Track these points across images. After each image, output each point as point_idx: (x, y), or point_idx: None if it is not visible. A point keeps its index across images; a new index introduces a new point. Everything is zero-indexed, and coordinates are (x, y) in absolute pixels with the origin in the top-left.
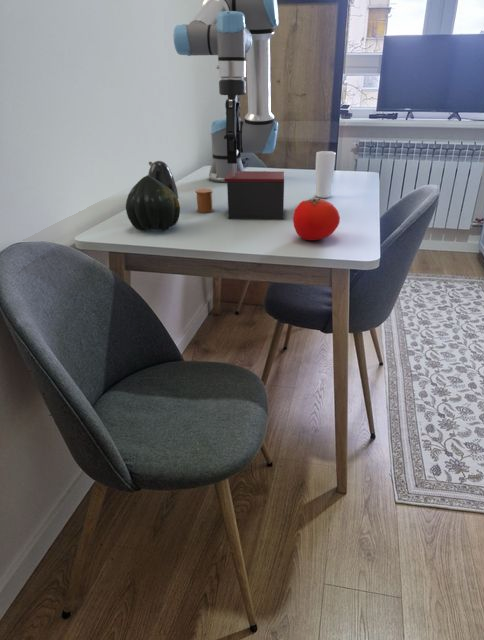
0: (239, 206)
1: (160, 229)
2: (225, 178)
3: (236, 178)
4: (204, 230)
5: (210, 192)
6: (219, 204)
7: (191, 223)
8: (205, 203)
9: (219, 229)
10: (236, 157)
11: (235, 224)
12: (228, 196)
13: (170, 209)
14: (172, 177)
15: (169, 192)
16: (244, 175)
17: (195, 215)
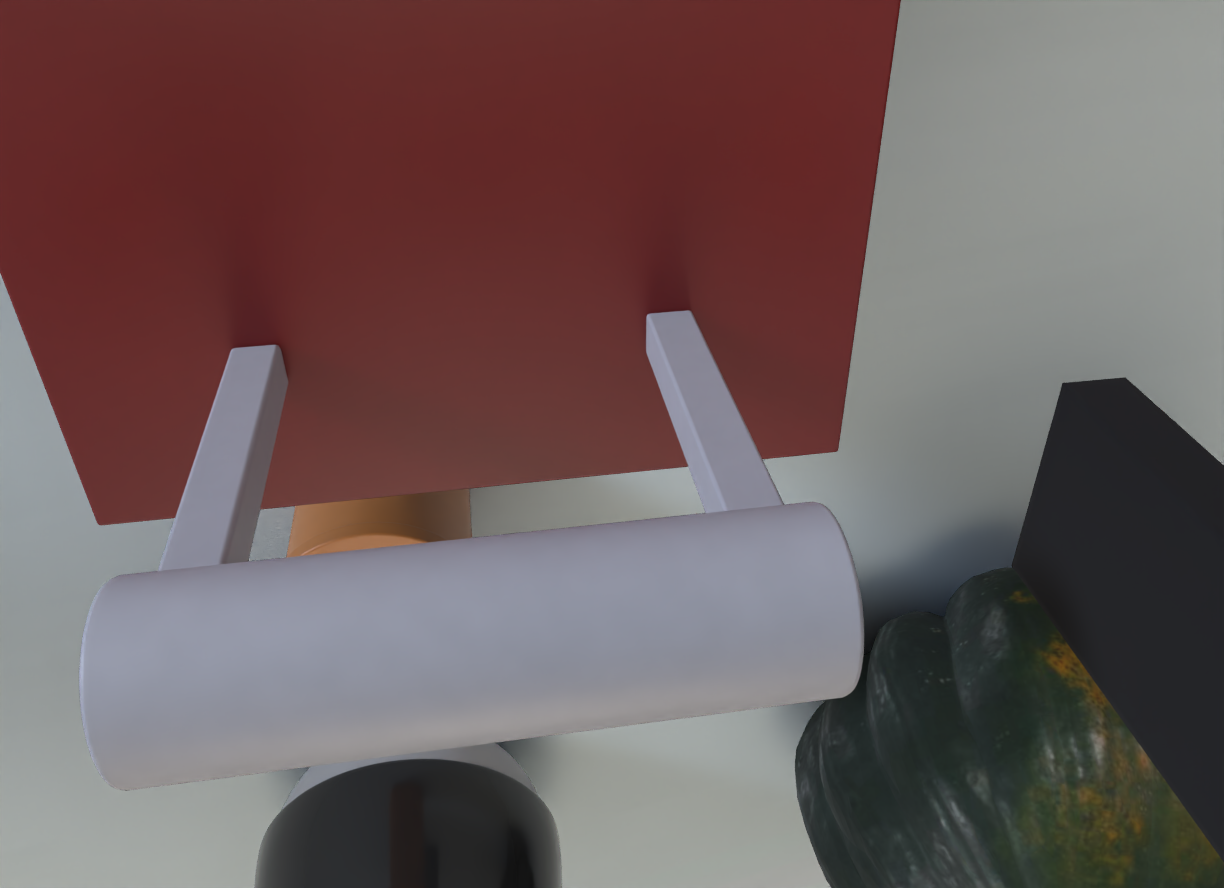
0: None
1: None
2: (834, 437)
3: (844, 256)
4: (1076, 324)
5: (426, 536)
6: (25, 390)
7: (840, 476)
8: (467, 504)
9: (1075, 196)
10: (1221, 464)
11: (920, 51)
12: None
13: None
14: None
15: (1161, 800)
16: (525, 137)
17: (567, 510)
